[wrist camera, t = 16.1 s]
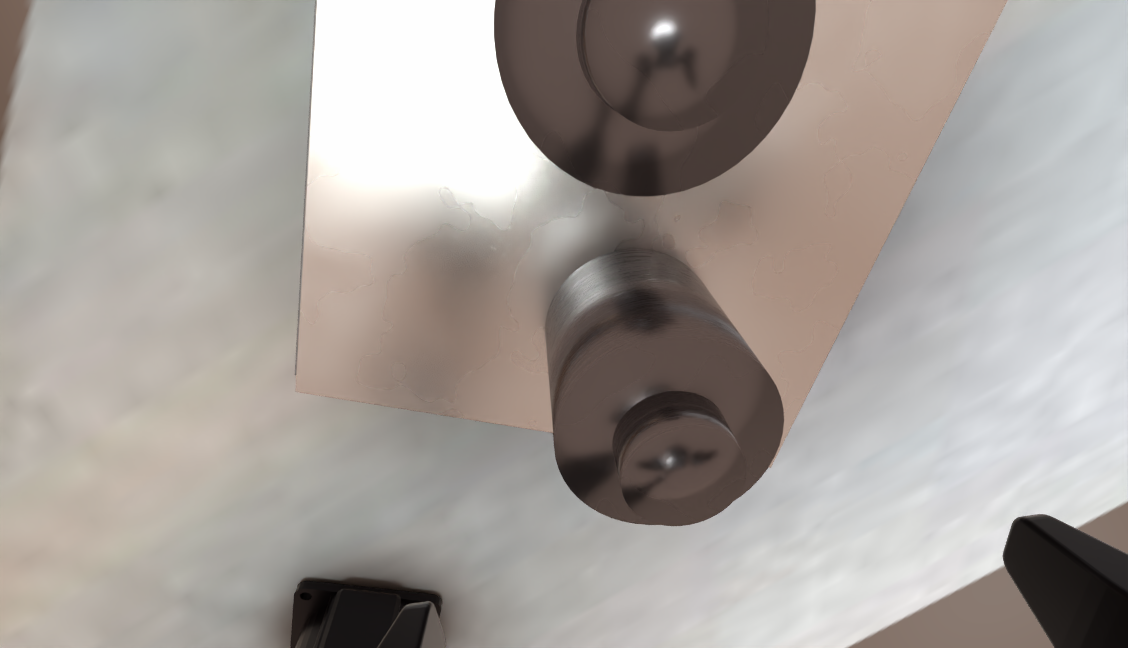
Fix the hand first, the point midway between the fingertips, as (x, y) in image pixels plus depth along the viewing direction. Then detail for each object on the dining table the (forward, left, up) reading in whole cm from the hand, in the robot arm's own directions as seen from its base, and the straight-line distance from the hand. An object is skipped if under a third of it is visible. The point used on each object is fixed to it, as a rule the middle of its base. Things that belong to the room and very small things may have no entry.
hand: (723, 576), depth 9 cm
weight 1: (+7, +3, -8) cm, 11 cm away
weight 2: (0, 0, -8) cm, 9 cm away
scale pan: (+4, +1, -12) cm, 13 cm away
